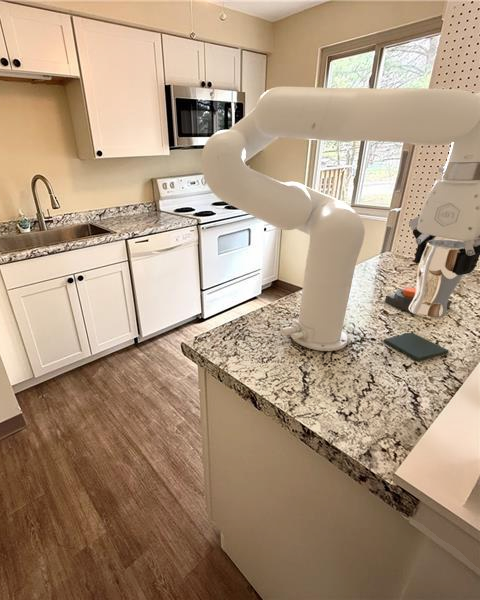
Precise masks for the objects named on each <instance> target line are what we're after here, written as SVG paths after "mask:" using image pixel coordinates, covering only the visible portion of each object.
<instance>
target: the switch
mask: <svg viewBox="0 0 480 600" xmlns="http://www.w3.org/2000/svg"><path fill="white" fill-rule="evenodd" d="M403 289H404V290H403V293H402V295H404V296H408V297H414V296H415V292H416V287H412V286H405V287H403Z"/></svg>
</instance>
